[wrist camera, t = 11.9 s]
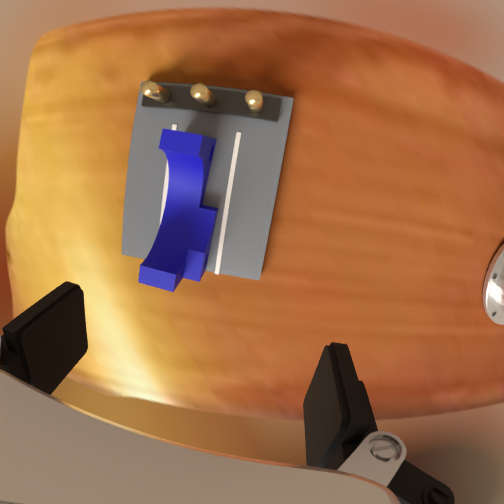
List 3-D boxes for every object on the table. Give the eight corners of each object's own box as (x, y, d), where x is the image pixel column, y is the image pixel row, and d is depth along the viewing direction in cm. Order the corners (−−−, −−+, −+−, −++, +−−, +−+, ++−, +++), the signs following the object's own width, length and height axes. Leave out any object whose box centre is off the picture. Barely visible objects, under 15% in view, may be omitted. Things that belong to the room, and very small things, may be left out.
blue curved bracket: (205, 269, 30) (191, 296, 24) (161, 258, 30) (138, 282, 24) (233, 142, 26) (224, 139, 20) (184, 133, 26) (162, 128, 20)
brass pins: (281, 101, 25) (284, 89, 20) (277, 122, 25) (279, 115, 20) (149, 87, 25) (126, 75, 20) (146, 107, 25) (121, 99, 20)
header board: (292, 100, 26) (293, 97, 25) (259, 276, 31) (259, 281, 30) (145, 84, 26) (140, 81, 24) (126, 251, 31) (121, 255, 30)
